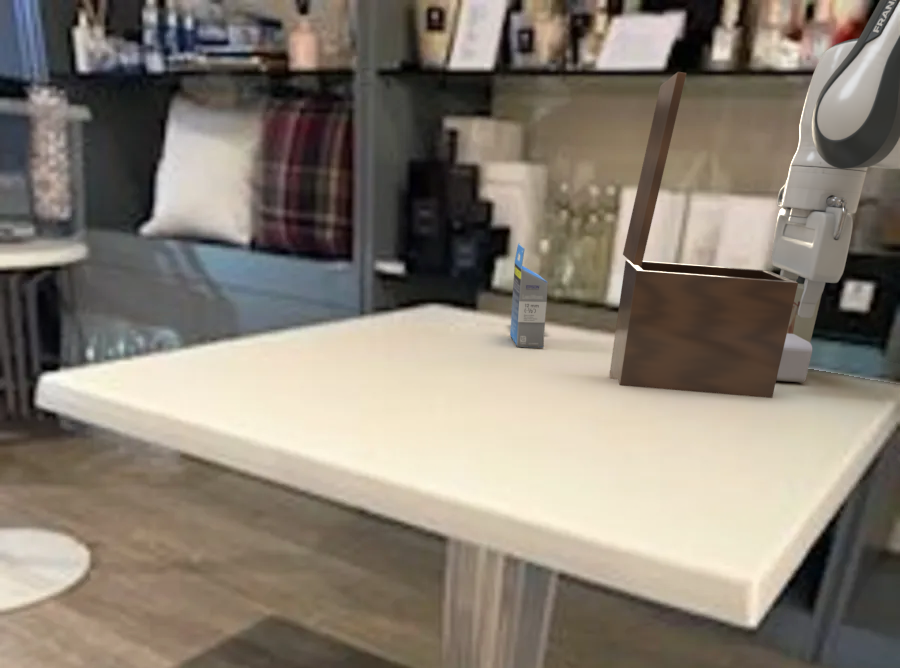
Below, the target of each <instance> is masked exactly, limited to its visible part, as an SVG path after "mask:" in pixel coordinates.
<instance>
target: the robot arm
mask: <svg viewBox="0 0 900 668" xmlns="http://www.w3.org/2000/svg"><path fill="white" fill-rule="evenodd" d="M798 126H799V127H798V131H799V132H798V133H799V139H798V145H797V149H796V151H795V154H794V155H793V158H792V160H791V162H790V165H789V170H788V175H787V179H786V180H785V184H784V185H783V186H782V187H781V188H780V190H779V191H778V195H777V200H776V206H777V208H778V207H779V208H780V209H779V212H778V214H777V219H776V223H775V230H774V237H773V242H772V250H771V264H772V266H774V267H776V268H778V269H780V273H779V275H780V276H783V277H785V278H788V279H790V280H792V281H795V282H797V280H798V279H799V277H801V278H803V279H804V283H803V284H804V286H803V287H804V291H803V294H802V297H801V300H800V301H798V305H797V309H796V315H797V316H799V317H802V318H811V317H812V316H813V313H814V310H815V306H816V303H817V301H818V300H819V298H820V296H821V297H822V295H821V294H823V293H824V289H825V286H826V283H827V284H828V283H830V284H837V283H839V281H840V280H841V278H842V276H843V274H844V271H845V267H846V262H847V258H848V254H849V247H850V245H851V237H852V234H853V226H854V221H853V220H854V219H853V217H852V216H851V215H850V214H856V213H857V210H858V206H859V202H860V200H861V199H860V198H861V195H862V191H863V187H864V183H865V179H866V176H867V172H868V169H869V168H873V169H874V168H875V169H883V170H900V0H879V2H878V3H877V5H876V6H875V9H874V10H873V13H872V14H871V16H870V17H869V19H868V21H867V23H866V25H865V27H864V29H863V30H862V32H861V34H860V36H859V38H858V37H857V38H852V39H848V40H844V41H841V42H838V43H836V44H834V45H832V46H831V47H830V48H828V49H827V50H825V51H824V53H823V54H822V55H821V57H820V59H819V61H818V63H817V65H816V67H815V69H814V71H813V74H812V77H811V80H810V82H809V85H808V89H807V92H806V96H805V100H804V104H803V107H802V112H801V117H800V121H799V125H798Z"/></svg>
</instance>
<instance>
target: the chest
mask: <svg viewBox="0 0 900 668" xmlns="http://www.w3.org/2000/svg"><path fill="white" fill-rule="evenodd" d="M623 269H624V270H623V274H622V275H623V276H622V283H621V284H622V285H621V290H620V297H619V304H618V311H617V319H616V325H615V332H614V339H613V347H612V353H611V359H610V360H611V362H610V369H609V375H608V376H609V379H610V380H617V382H618V384H619V386H622V387H624V386H625V387H634V388H647V389H659V390H671V391H682V392H683V391H684V392H696V393H707V394H718V395H729V396H730V395H732V396H743V397H754V398H766V399H773V398H774V397H773V396H774V393H775V388H776V383H777V381H776V379H777V375H778V371H779V366H780V362H781V357H782V353H783V348H784V344H785V340H786V335H787V331H788V326H789V322H790V317H791V313H792V308H793V304H794V300H795V295H796V291H797V286H798V284H799V282H797V281H796V282H795V281H792V280H790V279H788V278H785V277H783V276H780V274H777V273H775V272H772V271H770V270H767V269H755V268H744V267H743V268H741V267H728V266H715V265H700V264H689V263H688V264H687V263H674V262H661V261H648V260H643V262H642V266H637V265H633V264H632V263H631V262H630V261H629V260H628V259H625V262H624V268H623Z"/></svg>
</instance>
